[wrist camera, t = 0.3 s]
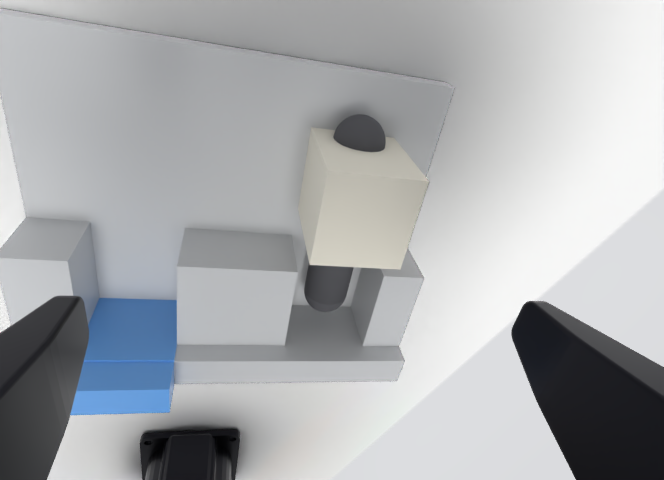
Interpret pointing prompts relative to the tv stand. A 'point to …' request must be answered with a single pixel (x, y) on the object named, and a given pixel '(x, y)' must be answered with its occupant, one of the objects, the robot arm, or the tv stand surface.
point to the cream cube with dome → (355, 206)
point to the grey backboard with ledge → (192, 207)
